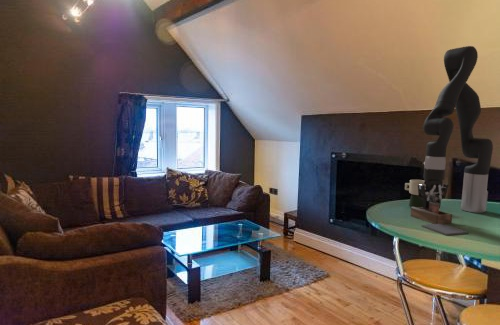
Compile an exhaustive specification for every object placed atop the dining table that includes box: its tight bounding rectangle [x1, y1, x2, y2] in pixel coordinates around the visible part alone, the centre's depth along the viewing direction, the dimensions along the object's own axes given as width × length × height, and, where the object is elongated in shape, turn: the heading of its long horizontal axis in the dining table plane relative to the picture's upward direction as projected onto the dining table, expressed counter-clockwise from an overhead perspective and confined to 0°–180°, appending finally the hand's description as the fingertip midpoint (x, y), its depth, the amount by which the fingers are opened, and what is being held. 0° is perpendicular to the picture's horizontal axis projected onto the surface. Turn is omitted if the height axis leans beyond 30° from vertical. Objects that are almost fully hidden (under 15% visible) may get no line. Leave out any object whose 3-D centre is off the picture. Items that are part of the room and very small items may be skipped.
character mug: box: [404, 179, 429, 208], centre depth 161 cm, size 11×7×13 cm, turn 56°
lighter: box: [424, 194, 441, 214], centre depth 141 cm, size 8×3×10 cm, turn 5°
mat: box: [421, 223, 469, 236], centre depth 127 cm, size 10×11×1 cm
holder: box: [410, 207, 453, 225], centre depth 141 cm, size 8×13×4 cm, turn 18°
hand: (431, 208), depth 141 cm, fingers open, 5 cm apart
